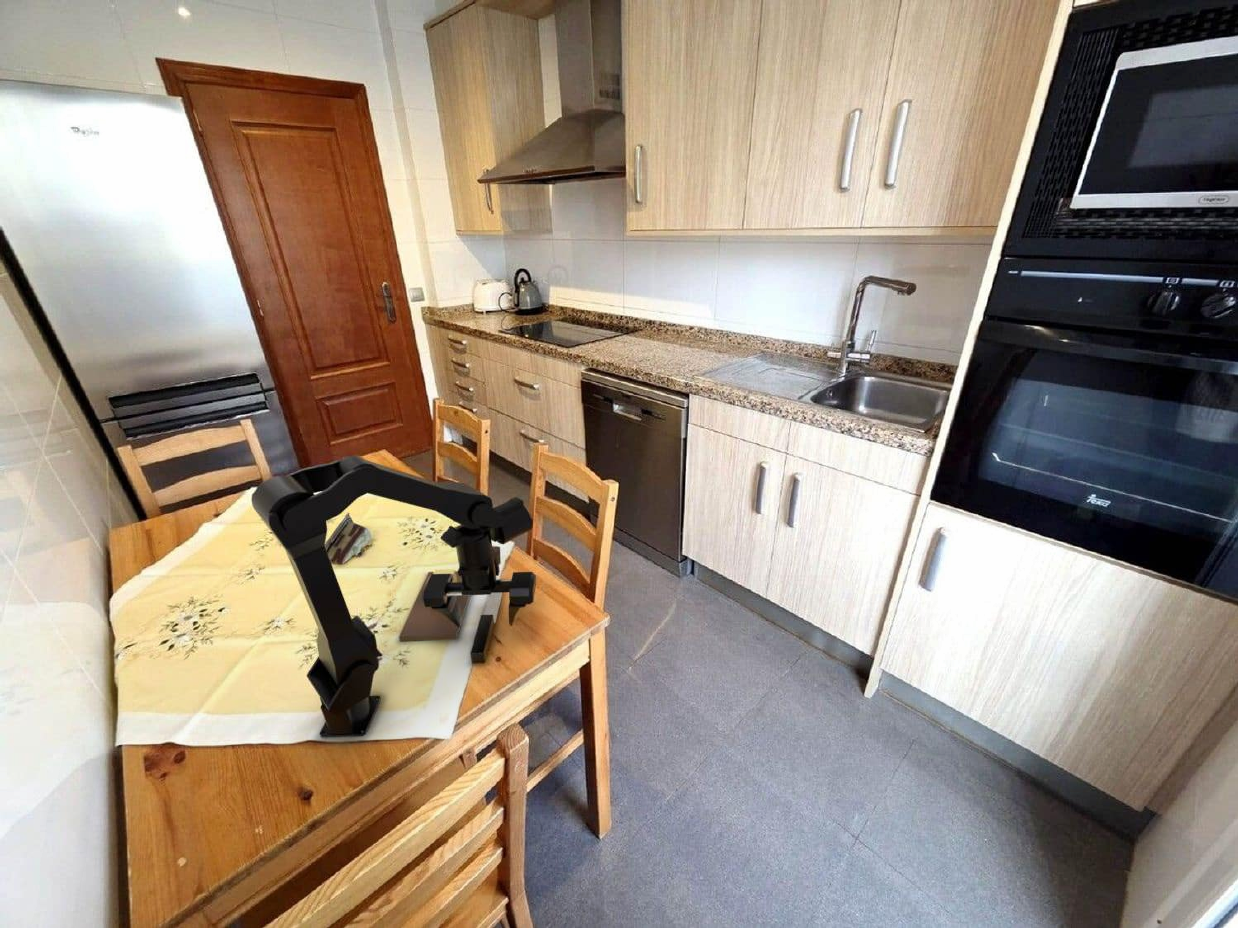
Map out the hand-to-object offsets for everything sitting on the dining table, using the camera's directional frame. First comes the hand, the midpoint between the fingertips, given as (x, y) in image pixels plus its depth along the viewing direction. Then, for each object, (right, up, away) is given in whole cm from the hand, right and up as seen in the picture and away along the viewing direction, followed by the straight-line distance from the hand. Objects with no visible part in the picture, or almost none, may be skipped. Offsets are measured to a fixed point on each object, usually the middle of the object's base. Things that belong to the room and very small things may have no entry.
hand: (485, 624), depth 91 cm
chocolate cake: (-36, +9, +21) cm, 43 cm away
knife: (0, 0, +3) cm, 3 cm away
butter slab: (-10, +6, +7) cm, 14 cm away
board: (-10, +2, +6) cm, 12 cm away
